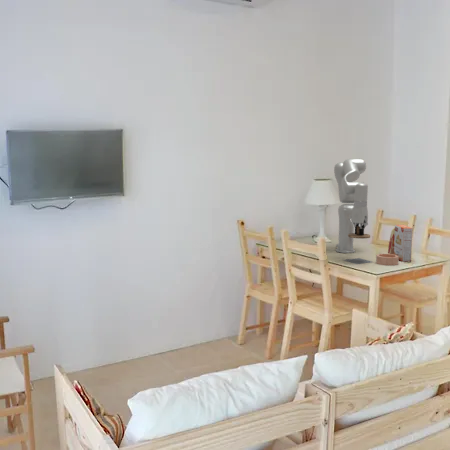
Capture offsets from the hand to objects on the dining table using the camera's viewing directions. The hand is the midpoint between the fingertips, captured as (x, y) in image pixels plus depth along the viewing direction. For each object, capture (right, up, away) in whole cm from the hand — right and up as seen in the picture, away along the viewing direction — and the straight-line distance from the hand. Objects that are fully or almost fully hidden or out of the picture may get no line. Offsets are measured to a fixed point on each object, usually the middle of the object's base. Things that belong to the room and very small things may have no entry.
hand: (359, 234), depth 327 cm
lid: (0, -1, 0) cm, 1 cm away
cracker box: (+29, -16, +10) cm, 35 cm away
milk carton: (+29, -14, +22) cm, 39 cm away
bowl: (+16, -18, -3) cm, 24 cm away
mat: (0, -17, +2) cm, 17 cm away
